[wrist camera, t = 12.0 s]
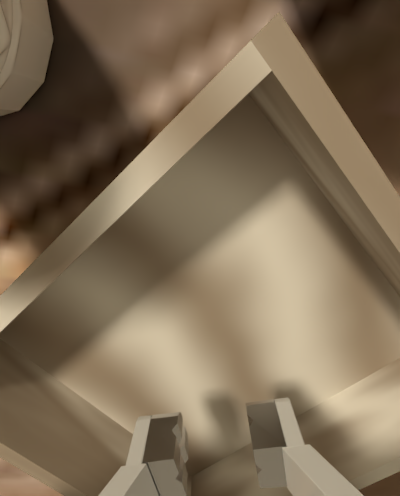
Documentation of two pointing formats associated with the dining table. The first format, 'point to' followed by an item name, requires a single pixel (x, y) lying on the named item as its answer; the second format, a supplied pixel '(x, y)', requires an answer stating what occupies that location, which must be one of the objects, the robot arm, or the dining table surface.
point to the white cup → (23, 51)
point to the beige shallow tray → (217, 293)
